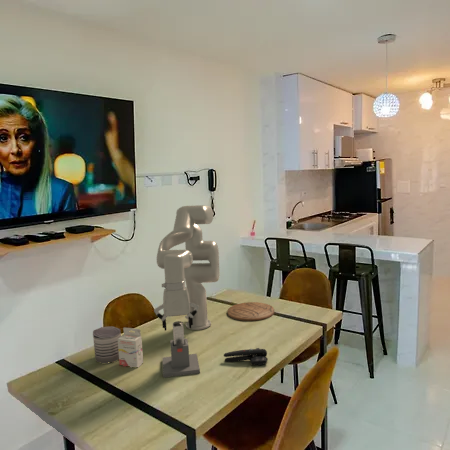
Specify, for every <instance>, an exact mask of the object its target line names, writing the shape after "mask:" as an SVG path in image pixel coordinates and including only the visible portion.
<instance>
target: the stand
mask: <svg viewBox="0 0 450 450" xmlns="http://www.w3.org/2000/svg"><path fill="white" fill-rule="evenodd" d="M184 344H185V345H183V343H179V344H176V346H174V339H170V354H171V356H162V378H163V377H164V378H170V377H171V376H172V377H178V376H179V377H180V376H187V375H188V376H189V375H196V374H201V368H200V364H199V360H198V354H197V353H191V354H190V351H189V341H188V338H184ZM172 377H171V378H172Z"/></svg>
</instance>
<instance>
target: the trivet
mask: <svg viewBox="0 0 450 450" xmlns="http://www.w3.org/2000/svg"><path fill="white" fill-rule="evenodd" d="M274 315H275V308H274V307H273V306H272V305H270V304H268V303H264V302H257V301H254V302H253V301H251V302H250V301H249V302H242V303H241V302H240V303H236V304H234V305H231V306H230V307H229V308H227V316H228V317H229V318H230V319H233V320H236V321H240V322H241V321H242V322H256V321H257V322H258V321H262V320H268V319H270V318H272V317H273V316H274Z"/></svg>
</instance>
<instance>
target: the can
mask: <svg viewBox="0 0 450 450" xmlns="http://www.w3.org/2000/svg"><path fill="white" fill-rule="evenodd" d="M121 332H122V331H121V328H118V327H116V326H101V327H99V328H96V329H93V331H92V337H93V348H94V349H93V351H94V359H96V360H95V361H97V362H101V363H107V364H109V363H108V362H113V361H116V360H118V359H119V350H118V338H119V337H121V336H122V333H121ZM118 361H119V360H118ZM97 362H96V363H97ZM116 362H117V361H116ZM101 363H100V364H101ZM113 363H114V362H113Z"/></svg>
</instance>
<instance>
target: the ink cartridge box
mask: <svg viewBox="0 0 450 450" xmlns="http://www.w3.org/2000/svg"><path fill="white" fill-rule="evenodd" d="M122 329H123V334H121V337H119V338H118V350H119V360H118V362H119V366H120V365H123V366H122V367H126V366H130V367H129V368H132V367H138V368H140V366H141V365H143V364H144V356H143V355H144V354H143V352H144V351H143V342H142V333H141V329H140V328H135V327H134V328H132V327H123V328H122ZM142 363H143V364H142Z"/></svg>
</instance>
